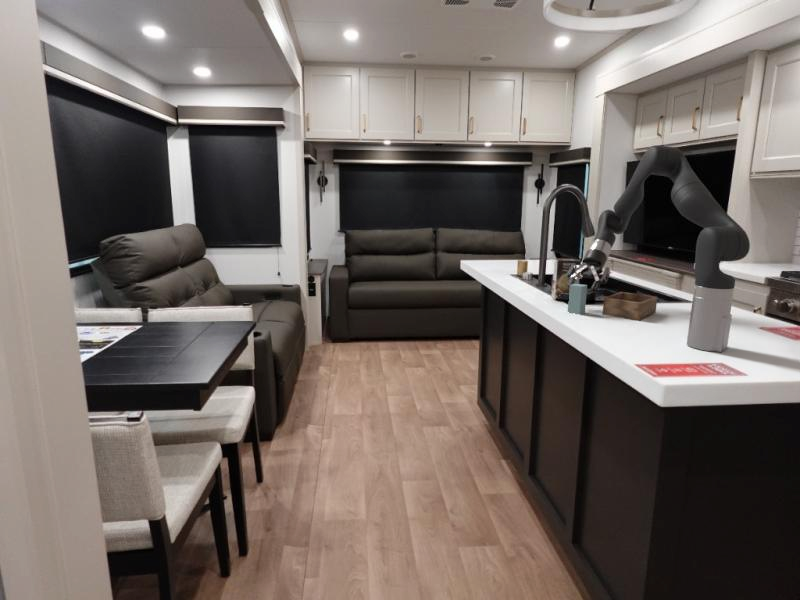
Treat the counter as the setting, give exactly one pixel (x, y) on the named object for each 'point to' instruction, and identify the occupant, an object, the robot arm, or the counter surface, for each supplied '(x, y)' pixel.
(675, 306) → the counter surface
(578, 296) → the block
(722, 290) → the robot arm
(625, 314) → the crate
